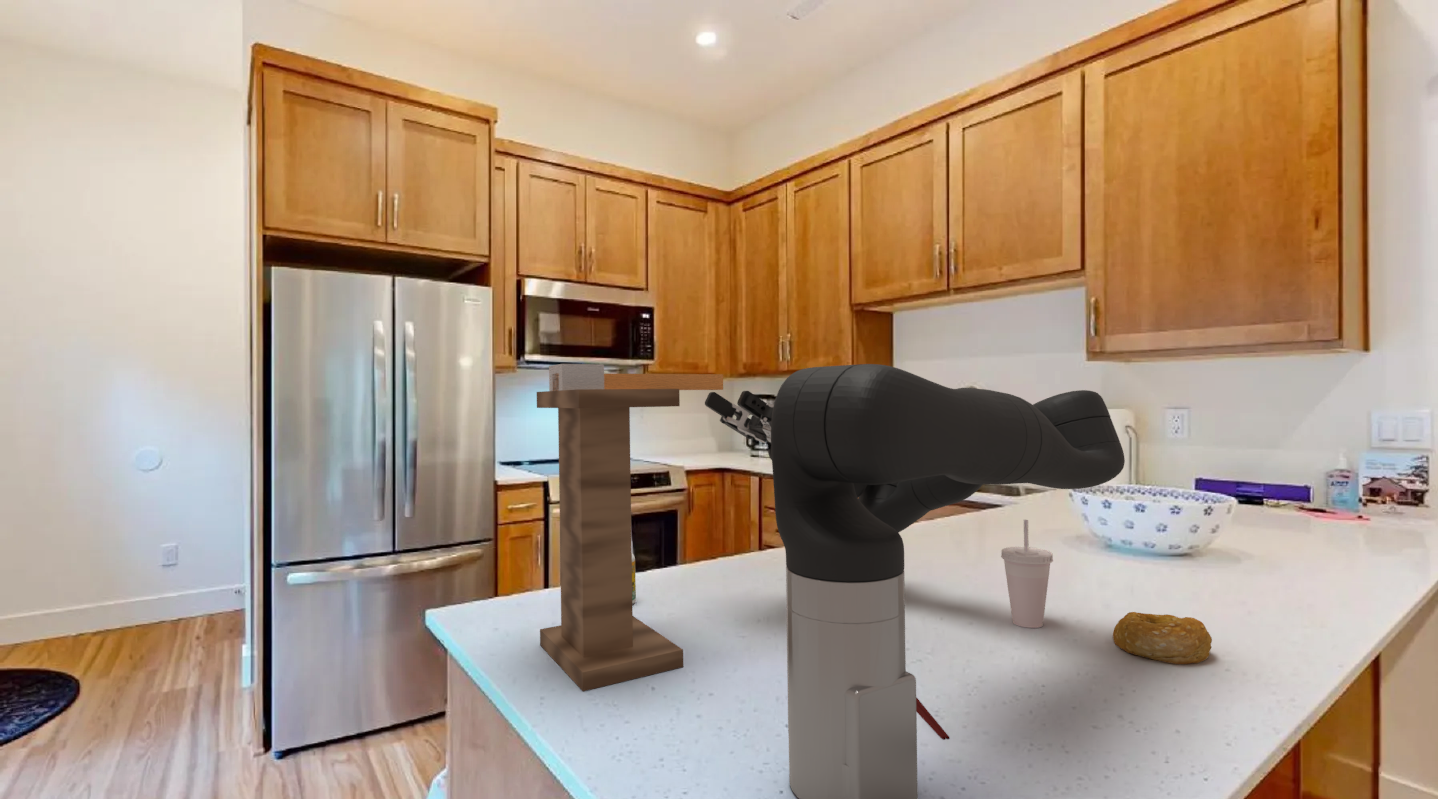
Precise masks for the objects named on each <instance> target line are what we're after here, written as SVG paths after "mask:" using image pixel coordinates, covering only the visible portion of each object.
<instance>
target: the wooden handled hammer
mask: <svg viewBox="0 0 1438 799" xmlns="http://www.w3.org/2000/svg"><path fill="white" fill-rule="evenodd" d="M548 376H549V377H548V378H549V379H548V385H549V386H548V389H549V390H548V391H561V390H577V389H679V391H720V390H721V391H724V374H720V373H719V374H717V373H715V374H713V373H711V374H708V373H707V374H705V373H702V374H701V373H699V374H697V373H605V364H603V363H602V364H599V363H598V364H597V363H596V364H595V363H594V364H591V363H590V364H589V363H560V364H553V365H549V366H548Z"/></svg>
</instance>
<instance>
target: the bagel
mask: <svg viewBox="0 0 1438 799" xmlns="http://www.w3.org/2000/svg"><path fill="white" fill-rule="evenodd" d="M1112 639H1113V643H1114V644H1115V646H1117V647H1118V648H1119V649H1121V650H1123V651H1125V652H1126V653H1128V654H1131V655H1135V656H1139V657H1142V658H1146V659H1150V660H1154V661H1157V662H1158V661H1159V662H1161V663H1162V662H1163V663H1169V664H1173V665H1190V664H1199V663H1201V662H1203V661H1205V660H1207V659H1208V658H1209V656H1210V652H1211V650H1212V642H1213V638H1212V636H1211V634H1210V632H1209V631H1208V629H1207V628H1206V626H1205V624H1204V622H1202V621H1201V620H1199V619H1197V618H1195V617H1188V616H1185V617H1178V616H1175V615H1172V614H1154V613H1153V614H1152V613H1141V612H1136V611H1132V612H1130V611H1129V612H1127V614H1125V615H1124V616H1123V617H1122V618H1120V619H1119V620H1118V622H1117V623H1116V625H1115V626H1114V627H1113V631H1112Z"/></svg>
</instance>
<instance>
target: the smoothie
mask: <svg viewBox="0 0 1438 799" xmlns="http://www.w3.org/2000/svg"><path fill="white" fill-rule="evenodd" d="M1029 543H1030V542H1029V520H1028V519H1023V546H1009V547H1008V546H1007V547H1004V548H1002V549H1001V551H1000V552H1001V554H1000V557H1001V559H1003V563H1004V570H1005V577H1006V585H1007V590H1008V598H1009V605H1010V612H1011V618H1012V623H1013V624H1014V625H1016V626H1018V627H1021V628H1022V627H1023V628H1026V629H1037V628H1041V627H1043V626H1044V619H1045V611H1046V603H1047V595H1048V594H1047V593H1048V588H1049V587H1048V584H1049V580H1050V579H1049V577H1050V568H1051V563H1053V562H1054V558H1053V556H1054V555H1053V553H1052V551H1050V550H1047V549H1044V548H1038V547H1032V546H1029Z"/></svg>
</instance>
